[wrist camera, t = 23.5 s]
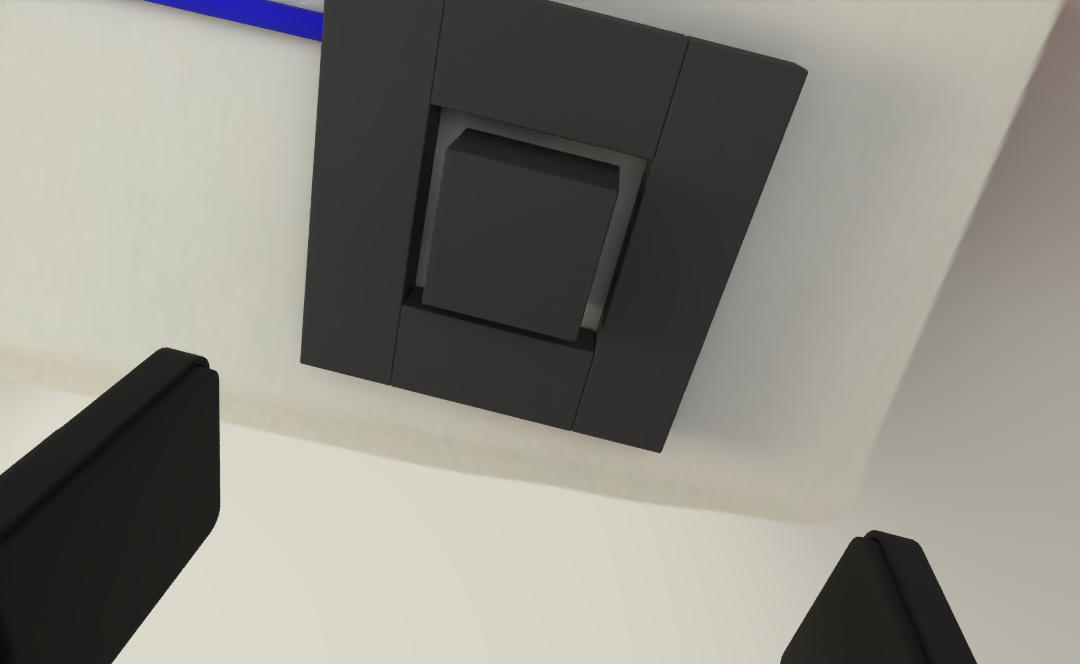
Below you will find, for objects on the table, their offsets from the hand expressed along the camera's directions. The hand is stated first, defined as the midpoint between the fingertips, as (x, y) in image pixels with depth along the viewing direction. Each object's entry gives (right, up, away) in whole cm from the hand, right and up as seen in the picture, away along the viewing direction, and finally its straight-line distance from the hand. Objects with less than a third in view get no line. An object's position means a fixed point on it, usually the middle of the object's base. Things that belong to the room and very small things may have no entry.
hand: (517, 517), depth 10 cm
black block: (0, +7, +18) cm, 19 cm away
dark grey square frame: (0, +7, +18) cm, 19 cm away
